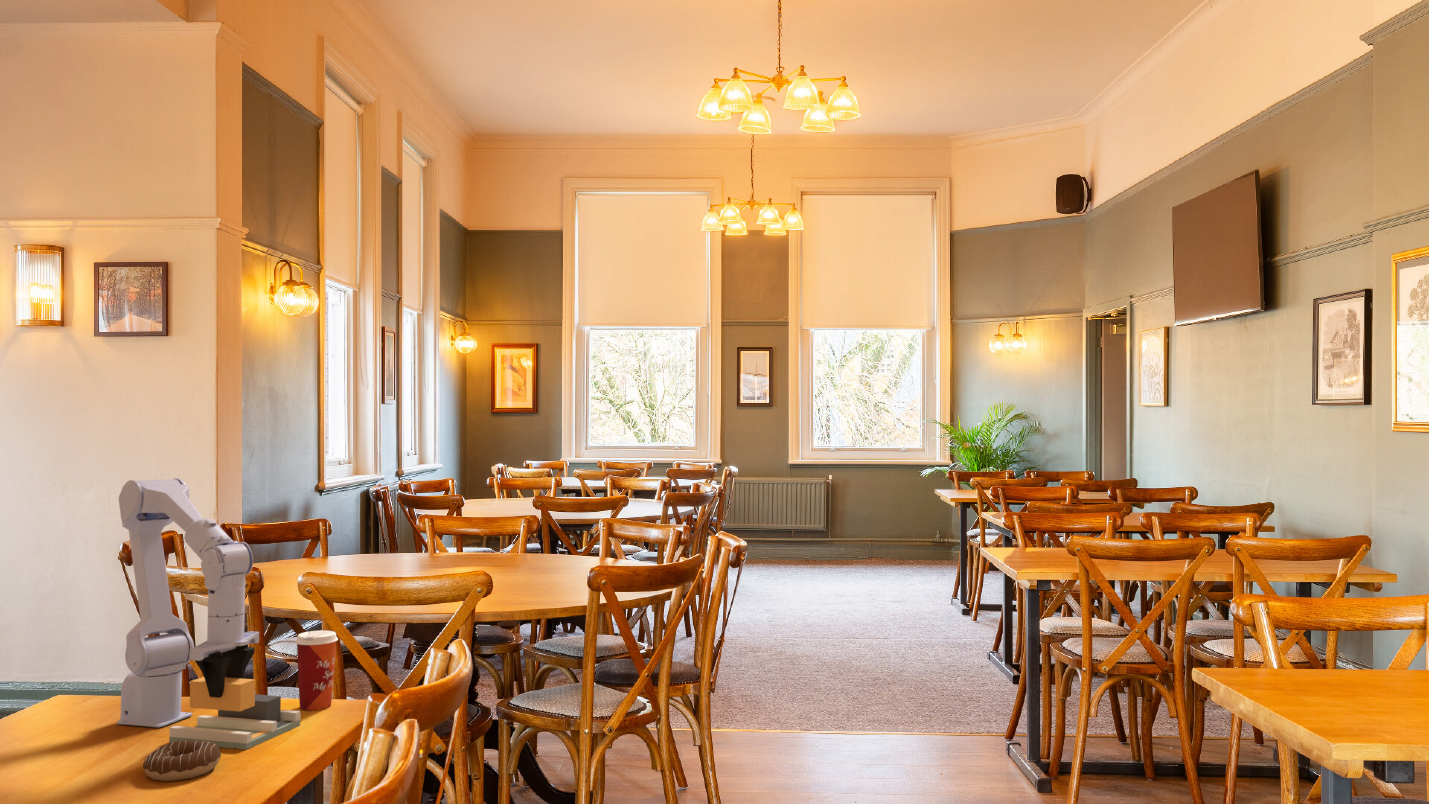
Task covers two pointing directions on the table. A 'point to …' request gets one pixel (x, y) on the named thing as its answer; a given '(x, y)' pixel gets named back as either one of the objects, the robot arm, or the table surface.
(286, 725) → the comb board
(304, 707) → the paper cup
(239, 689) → the wooden block
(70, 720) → the table surface
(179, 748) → the donut
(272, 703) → the dark grey block
